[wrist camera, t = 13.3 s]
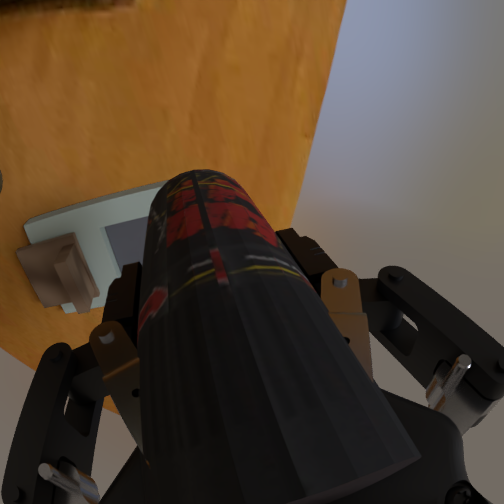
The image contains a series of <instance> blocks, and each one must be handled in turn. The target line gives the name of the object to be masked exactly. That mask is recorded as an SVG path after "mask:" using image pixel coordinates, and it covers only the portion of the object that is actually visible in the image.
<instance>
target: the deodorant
mask: <svg viewBox="0 0 504 504" xmlns="http://www.w3.org/2000/svg"><path fill="white" fill-rule="evenodd" d="M328 312H329V310H328V309H327V307H326V306H325V304H324V303H323V301H322V300H321V298H320V297H319V295H318V294H317V292H316V291H315V289H314V288H313V287H312V285H311V284H310V282H309V281H308V279H307V278H306V276H305V275H304V273H303V272H302V271H301V269H300V268H299V266H298V265H297V263H296V262H295V260H294V259H293V258H292V256H291V255H290V253H289V252H288V250H287V249H286V248H285V246H284V245H283V243H282V242H281V240H280V239H279V238H278V236H277V235H276V233H275V232H274V230H273V229H272V228H271V226H270V225H269V223H268V222H267V221H266V219H265V218H264V216H263V215H262V214H261V212H260V211H259V209H258V208H257V207H256V205H255V204H254V202H253V201H252V200H251V198H250V197H249V196H248V194H247V193H246V191H245V190H244V189H243V188H242V187H241V186H240V185H239V184H238V183H237V182H236V181H235V179H233V178H231V177H229V176H227V175H226V174H224V173H221V172H217V171H213V170H209V169H207V170H192V171H188V172H185V173H181V174H179V175H177V176H176V177H174V178H172V179H171V180H169V181H167V182H166V183H165V184H164V185H163V187H162V188H161V189H160V190H159V191H158V192H157V194H156V195H155V197H154V199H153V201H152V203H151V206H150V211H149V216H148V222H147V230H146V237H145V246H144V254H143V264H142V274H141V285H140V297H139V312H138V330H137V357H139V360H140V389H139V390H138V397H139V396H140V409H141V430H142V445H143V453H142V452H141V450H140V449H139V454H140V465H141V475H142V484H143V493H144V501H145V504H327V503H330V502H332V501H335V500H337V499H340V498H342V497H345V496H347V495H350V494H352V493H354V492H356V491H359V490H361V489H363V488H365V487H368V486H370V485H372V484H374V483H376V482H378V481H380V480H382V479H384V478H386V477H388V476H390V475H392V474H394V473H395V472H397V471H399V470H401V469H403V468H404V467H406V466H408V465H410V464H411V463H413V462H415V461H417V460H418V459H420V458H421V454H420V453H419V451H418V449H417V448H416V446H415V444H414V443H413V441H412V439H411V438H410V436H409V435H408V433H407V431H406V430H405V428H404V426H403V425H402V423H401V422H400V420H399V418H398V417H397V415H396V413H395V412H394V410H393V409H392V407H391V405H390V404H389V402H388V401H387V399H386V398H385V396H384V394H383V393H382V391H381V390H380V388H379V387H378V385H377V383H376V382H375V380H374V379H373V382H372V381H371V379H370V378H369V376H368V374H367V373H366V371H365V370H364V368H363V367H362V365H361V363H360V362H359V360H358V359H357V357H356V356H355V354H354V353H353V351H352V349H351V348H350V346H349V345H348V344H349V343H348V341H347V340H346V339H345V338H344V337H343V336H342V334H341V333H340V331H339V329H338V328H337V326H336V325H335V323H334V322H333V320H332V319H331V317H330V316H329V314H328ZM145 459H146V460H147V461H148V462H149V465H150V468H149V466H148V464H147V462H146V460H145ZM150 469H151V470H150Z"/></svg>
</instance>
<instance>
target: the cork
mask: <svg viewBox="0 0 504 504" xmlns="http://www.w3.org/2000/svg"><path fill="white" fill-rule="evenodd" d="M2 183H3V180H2V174H1V171H0V192H1V190H2Z"/></svg>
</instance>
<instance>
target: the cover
mask: <svg viewBox="0 0 504 504" xmlns="http://www.w3.org/2000/svg"><path fill="white" fill-rule="evenodd" d="M16 254H17V256H18V258H19V260H20V263H21V265H22V267H23V269H24V271H25V273H26V275H27V277H28V279H29V281H30V283H31V284H32V286H33V288H34V290H35V292H36V294H37V296H38V297H39V299H40V301H41V303H42V304H43V306H44V308H47V307H51V306H56V305H61V304H66V303H71V302H72V303H73V305H74V307H75V309H76V310H77V312H78V314H80V313H85V312H90V309H91V304H92V300H93V298H95V297H99V295H100V291H99V289H98V287H97V285H96V283H95V280H94V278H93V276H92V274H91V271H90V269H89V267H88V264H87V262H86V260H85V257H84V255H83V252H82V250H81V247H80V245H79V242H78V240H77V237H76V234H75V232H72V233H69V234H65V235H62V236H58V237H55V238H51V239H48V240H45V241H41V242H38V243H35V244H31V245H28V246H25V247H22V248H19V249H17V251H16Z"/></svg>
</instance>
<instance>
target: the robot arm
mask: <svg viewBox="0 0 504 504" xmlns="http://www.w3.org/2000/svg"><path fill="white" fill-rule="evenodd" d="M275 233H276V235H277V236H278V238H279V239H280V240H281V242H282V243H283V245H284V246H285V248H286V249H287V250H288V252H289V253H290V255H291V256H292V258H293V259H294V260H295V262H296V263H297V265H298V266H299V268H300V269H301V271H302V272H303V273H304V275H305V276H306V278H307V279H308V281H309V282H310V284H311V285H312V287H313V288H314V289H315V291H316V292H317V294H318V295H319V297H320V298H321V300H322V301H323V303H324V304H325V306H326V307H327V309H328V310H329V312H328V314H329V316H330V317H331V319H332V320H333V322H334V323H335V325H336V326H337V328H338V329H339V331H340V333H341V334H342V336H343V337H344V338H345V339H346V340H347V341H348V343H349V344H348V345H349V346H350V348H351V349H352V351H353V353H354V354H355V356H356V357H357V359H358V360H359V362H360V363H361V365H362V367H363V368H364V370H365V371H366V373H367V374H368V376H369V378H370V379H371V381H372V382H373V370H372V358H371V348H370V337H369V332H371V333H372V335H373V336H374V337H375V338H376V339H377V340H378V341H379V342H380V343H381V344H382V345H383V346H384V347H385V348H386V349H387V350H388V351H389V352H390V353H391V354H392V355H393V356H394V357H395V358H396V359H397V360H398V361H399V362H400V363H401V364H402V365H403V366H404V367H405V368H406V369H407V370H408V371H409V373H411V374H412V376H413V377H414V378H415V379H416V380H417V381H418V382H419V383H420V384H421V385H422V386H423V387H424V388H425V389H426V398H427V401H428V403H429V404H428V407H429V408H428V407H425V406H423V405H420V404H418V403H415V402H413V401H410V400H408V399H405V398H403V397H400V396H398V395H395V394H393V393H390V392H388V391H385V390H383V389H381V388H380V390H381V391H382V393H383V394H384V396H385V398H386V399H387V401H388V402H389V404H390V405H391V407H392V409H393V410H394V412H395V413H396V415H397V417H398V418H399V420H400V422H401V423H402V425H403V426H404V428H405V430H406V431H407V433H408V435H409V436H410V438H411V439H412V441H413V443H414V444H415V446H416V448H417V449H418V451H419V453H420V454H421V458H420V459H418V460H417V461H415V462H413V463H411V464H410V465H408V466H406V467H404V468H403V469H401V470H399V471H397V472H395V473H394V474H392V475H390V476H388V477H386V478H384V479H382V480H380V481H378V482H376V483H374V484H372V485H370V486H368V487H365V488H363V489H361V490H359V491H356V492H354V493H352V494H350V495H347V496H345V497H342V498H340V499H337V500H335V501H332V502H330V503H327V504H492V503H491V502H490V501H488V500H487V499H486V498H484V497H483V496H482V495H481V494H480V493H478V491H476V489H475V488H474V487H473V486H472V485H471V483H470V482H469V479H468V476H467V473H466V469H465V464H464V452H463V440H462V436H463V434H464V433H465V432H466V431H467V430H468V429H469V428H471V427H474V426H476V425H478V424H479V423H480V422H481V421H482V419H483V418H484V417H485V416H486V415H487V414H488V413H489V412H490V411H491V410H492V409H493V408H494V407H495V405H496V404H497V403H498V402H499V401H500V400H501V398H502V397H503V396H504V347H503V346H501V344H499V343H498V342H497V341H496V340H495V339H494V338H492V337H491V336H490V335H489V334H488V333H487V332H485V331H484V330H483V329H482V328H481V327H479V326H478V325H477V324H476V323H474V322H473V321H472V320H471V319H470V318H469V317H467V316H466V315H465V314H464V313H462V312H461V311H460V310H459V309H457V308H456V307H455V306H454V305H452V304H451V303H450V302H448V301H447V300H446V299H445V298H443V297H442V296H441V295H439V294H438V293H437V292H435V291H434V290H433V289H432V288H430V287H429V286H428V285H426V284H425V283H424V282H422V281H421V280H419V279H418V278H417V277H416V276H414V275H413V274H411V273H410V272H409V271H407V270H406V269H404V268H402V267H398V266H387V267H384V268H382V269H381V270H380V271H379V273H378V278H371V279H358V277H357V275H356V274H355V273H354V272H352V271H350V270H347V269H343V268H338V267H337V265H336V264H335V263H334V262H333V261H332V260H331V259H330V257H329V256H328V255H327V254H326V253H325V252H324V250H323V249H322V248H320V246H319V245H318V244H317V243H316V242H315V240H313V239H311V238H309V237H307V236H303V237H299V235H298V234H297V233H296V231H295V230H294V229H293V228H289V229H284V230H279V231H276V232H275ZM141 274H142V265H141V263H140V262H134V263H130V264H126V265H123V268H122V273H121V277H120V278H116V279H114V280H113V282H112V283H111V284H110V286H109V288H108V293H107V297H106V303H105V307H104V312H103V318H102V323H101V324H99V325H98V326H97V327H95V328H94V329H93V331H92V332H91V334H90V336H89V342H88V343H86V344H85V345H82V346H80V347H78V348H76V349H73V350H72V349H71V347H70V346H69V345H68V344H66V343H63V342H61V343H56V344H54V345H52V346H50V347H49V348H48V349H47V350H46V351H45V352H44V354H43V356H42V358H41V360H40V363H39V365H38V368H37V370H36V373H35V375H34V378H33V380H32V383H31V386H30V389H29V391H28V394H27V397H26V400H25V402H24V405H23V409H22V411H21V415H20V418H19V421H18V424H17V427H16V431H15V434H14V438H13V441H12V445H11V449H10V453H9V457H8V461H7V465H6V469H5V474H4V479H3V484H2V491H1V493H2V494H1V495H2V499H3V503H4V504H145V501H144V493H143V484H142V475H141V465H140V454H139V449H140V450H141V452H142V453H143V445H142V430H141V409H140V396H139V397H138V390H139V389H140V360H139V357H137V330H138V312H139V297H140V285H141ZM403 314H405V315H406V316H407V317H409V318H410V319H411V320H412V321H413V322H414V323H415V324H416V326H417V328H418V331H417V330H416V329H415V328H414V327H413V326H412V325H410V324H409V323H408V322H407V321H406V320H405V319H404V318H403ZM108 395H110V396H111V398H112V400H113V402H114V404H115V406H116V408H117V410H118V412H119V413H120V415H121V417H122V419H123V421H124V423H125V424H126V426H127V428H128V430H129V431H130V433H131V435H132V437H133V438H134V440H135V442H136V444H137V447H136V448H135V450H134V451H133V453H132V454H131V456H130V457H129V459H128V460H127V462H126V463H125V465H124V466H123V468H122V469H121V471H120V472H119V473H118V475H117V476H116V478H115V479H114V481H113V482H112V484H111V485H110V487H109V488H108V490H107V491H106V493H105V494H104V496H103V497H102V499H101V500H100V495H99V493H98V488H97V485H96V483H95V481H94V480H93V479H92V478H91V471H92V463H93V456H94V449H95V444H96V437H97V432H98V426H99V421H100V416H101V411H102V406H103V402H104V397H106V396H108ZM67 397H69V401H68V404H67V408H66V412H65V415H64V407H65V404H66V400H67ZM145 460H146V459H145ZM146 462H147V464H148V466H149V468H150V465H149V462H148V461H147V460H146ZM150 470H151V469H150Z"/></svg>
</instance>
